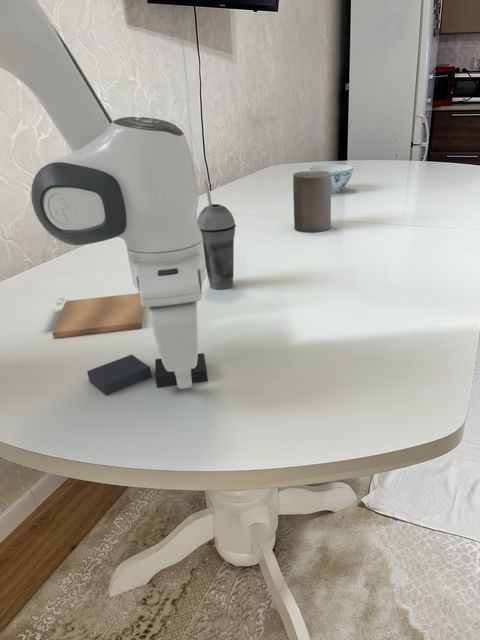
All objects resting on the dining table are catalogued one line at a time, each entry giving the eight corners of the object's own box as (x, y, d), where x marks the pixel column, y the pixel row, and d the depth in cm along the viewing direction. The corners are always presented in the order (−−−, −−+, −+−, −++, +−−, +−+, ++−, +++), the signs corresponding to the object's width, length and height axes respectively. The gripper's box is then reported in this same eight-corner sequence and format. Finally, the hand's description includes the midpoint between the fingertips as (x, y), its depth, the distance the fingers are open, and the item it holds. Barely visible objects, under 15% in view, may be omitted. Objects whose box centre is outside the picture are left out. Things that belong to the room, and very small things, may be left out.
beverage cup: (245, 287, 101) (237, 180, 91) (208, 294, 98) (197, 184, 89) (233, 276, 107) (224, 174, 97) (198, 282, 104) (186, 178, 95)
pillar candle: (290, 232, 135) (288, 171, 128) (298, 222, 143) (297, 165, 136) (327, 233, 132) (327, 171, 125) (334, 223, 140) (335, 164, 134)
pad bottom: (158, 397, 67) (155, 377, 66) (158, 378, 71) (155, 358, 70) (209, 390, 68) (206, 370, 67) (205, 372, 72) (203, 352, 71)
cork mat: (53, 338, 85) (52, 332, 84) (66, 306, 97) (65, 300, 96) (141, 328, 86) (140, 322, 86) (143, 297, 99) (142, 292, 98)
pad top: (107, 405, 66) (103, 385, 65) (91, 390, 69) (86, 370, 68) (153, 386, 70) (149, 366, 68) (135, 373, 73) (131, 354, 72)
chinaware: (329, 185, 188) (329, 163, 185) (361, 190, 178) (362, 166, 174) (299, 192, 180) (298, 169, 176) (331, 198, 169) (331, 173, 166)
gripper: (143, 245, 71) (158, 336, 77) (138, 299, 53) (159, 413, 59) (190, 240, 72) (201, 331, 78) (201, 292, 54) (214, 404, 60)
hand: (183, 367), depth 69 cm, fingers open, 8 cm apart
